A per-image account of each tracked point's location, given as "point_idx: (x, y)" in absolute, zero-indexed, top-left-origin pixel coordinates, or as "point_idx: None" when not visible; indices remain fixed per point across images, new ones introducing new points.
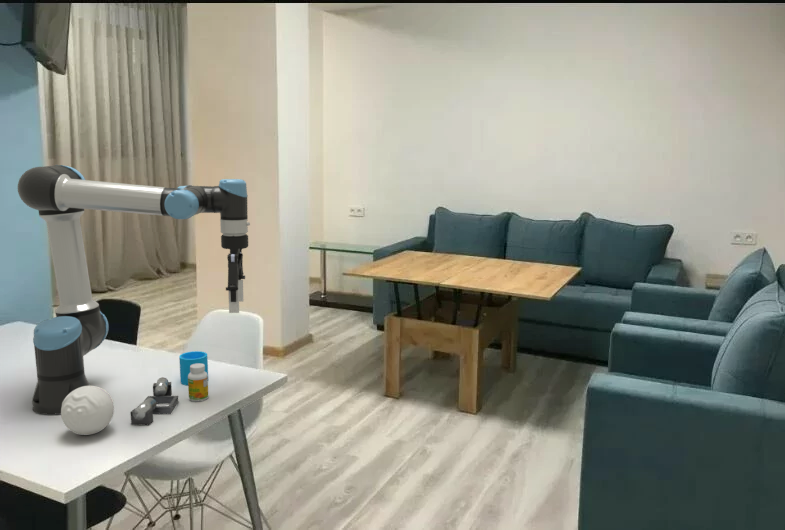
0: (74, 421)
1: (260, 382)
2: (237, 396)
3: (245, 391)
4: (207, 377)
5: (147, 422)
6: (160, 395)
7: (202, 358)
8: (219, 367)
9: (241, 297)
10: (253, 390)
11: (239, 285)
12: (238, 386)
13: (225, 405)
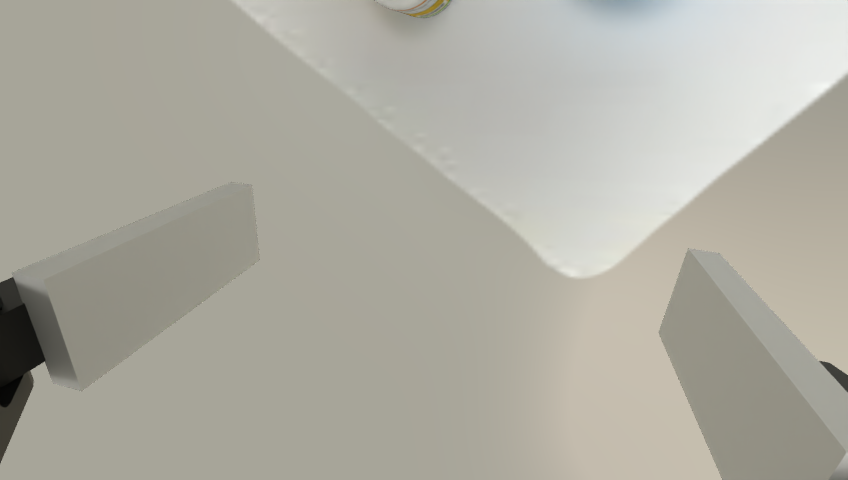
0: None
1: (537, 206)
2: (420, 124)
3: (461, 152)
4: (397, 10)
5: None
6: None
7: None
8: (809, 39)
9: (675, 344)
10: (464, 178)
11: (744, 446)
12: (516, 128)
13: (349, 85)
